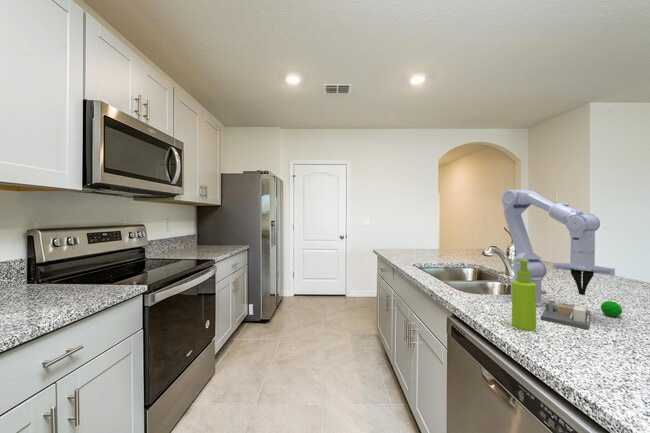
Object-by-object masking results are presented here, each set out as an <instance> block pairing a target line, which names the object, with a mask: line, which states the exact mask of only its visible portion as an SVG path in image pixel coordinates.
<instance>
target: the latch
mask: <svg viewBox="0 0 650 433" xmlns="http://www.w3.org/2000/svg"><path fill="white" fill-rule="evenodd" d="M586 309H587V306H582V305H581V306H580V305H576V304H575V305H574V321H577V322H582V323H585V322H586Z"/></svg>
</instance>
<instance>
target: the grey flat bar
mask: <svg viewBox="0 0 650 433" xmlns="http://www.w3.org/2000/svg"><path fill="white" fill-rule="evenodd" d="M551 304H553V307H555V308H558V306H561V307H567V308H573V309H574V306H575V305H574V306H569V305H570V304H568V305H563V304H564V303H562V304H559V303H558V302H555V303H551ZM587 310H588V311H589V309H588V308H586V314H587Z"/></svg>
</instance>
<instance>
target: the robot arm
mask: <svg viewBox="0 0 650 433" xmlns="http://www.w3.org/2000/svg"><path fill="white" fill-rule="evenodd" d="M501 201H502V205H503V209H504V210H503V213H504V214H503V215H504V218H505V220H506V221H505V222H506V224H507V227H508V230H509V234H510V237H511V240H512V244H513V247H514V251H515V254H516V256H515V257H514V258H513V259H512V264H513V266H512V270H513V273H514V275H515V276H516V277H515V276H513V277H511V280H510V301H511V302H512V281H517V270H519V269H520V261H516V259H526V260H528V261H529V263H527V270H529V271H530V272H531V282H532V283H535V284H536V307H537V306H538V307H541V306H542V305H543V304H544V303H545V301H544V299H542V281H543V280H544V279H543V278H544V277H546V275H547V272H548V269H547V266H546V265H545V263H544V262H543V261H542V259H541V257H540V256H539V255H538V254H536V253H535V252H534V249H533V246H532V244H531V241H530V238H529V234H528V232H527V228H526V225H525V222H524V220H523V216H522V214H523V213H524V212H525V211H526V210H527V209H528V208H530V206H532V205H533V206H535V207H538V208H540V209H541V210H544V211H545V212H547V213H548V215H549V217H550V218H552V219H554V220H555V221H557V222H558V223H559V222H560V223H561V224H563V225H565V226H566V229H567V230H568V232H569V236H570V259H569V260H570V263H568V262H567V263H566V262H565V263H564V262H552V269H553V270H562V271H564V270H565V271H570V275H571V276H572V278H573V280H574V282H575V285H576V287H577V291H578V295H580V296H585V295H586V290H587V287H588V285H589V283H590V281H591V280H592V278H593V277H594V276H595V275H594V274H601V275H610V276H616V269H615V267H614V268H613V267H607V266H606V267H605V266H598V265H596V264H595V263H596V261H595V259H596V258H595V257H596V231H598V229H600V227H601V221H600V219H599V217H597V216H596V215H595V214H593V213H592V214H591V213H586V214H584V212H583V210H580V209H575V208H573V207H571V206H570V204H569V203H567V202H559V203H555V202H553V201H551V200H549V199H547V198H546V197H544V196H542V195H540V194H538V192H536V191H534V190H531V189H511V188H509V189H507V190H505V191H504V193H503V194H502V197H501Z"/></svg>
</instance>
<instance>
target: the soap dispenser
mask: <svg viewBox="0 0 650 433" xmlns="http://www.w3.org/2000/svg"><path fill="white" fill-rule="evenodd" d="M516 261H520V269H519V270H517V276H516V277H517V281H512V301H511V325H512V327H514V328H516V329H520V330H524V331H530V332H531V331H535V330H537V305H536V284H535V283H532V282H531V272H530V271H529V270H527V263H529V261H528V260H526V259H516Z"/></svg>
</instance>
